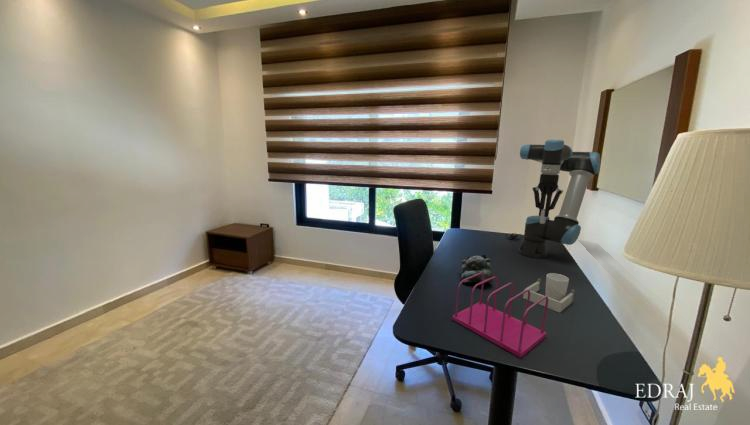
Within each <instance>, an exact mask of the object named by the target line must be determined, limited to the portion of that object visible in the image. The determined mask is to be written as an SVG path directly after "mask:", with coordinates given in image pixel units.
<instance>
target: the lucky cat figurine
mask: <svg viewBox="0 0 750 425" xmlns="http://www.w3.org/2000/svg"><path fill="white" fill-rule="evenodd" d="M461 271H462V274H461V278H460V279H461V281H462V280H464V279H466V278H468V277H471V276H473V275H476V274H478V273H483V274H484V281H485V280H487V279H489V278H492V277H494V276H493V274H492V259H491V258H490V257H489V258H487V256H486V254H482V255H473V256H471V255H468V256H467V258H466V259H463V260H461ZM482 278H483V276H482V274H480V275H478V276H475V277H473V278H471V279H468V280H466V281H464V282H463V283H462V284H464V283H480V282H482ZM493 281H494V279H492V280H490V281H487V282H486V283H493Z"/></svg>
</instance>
